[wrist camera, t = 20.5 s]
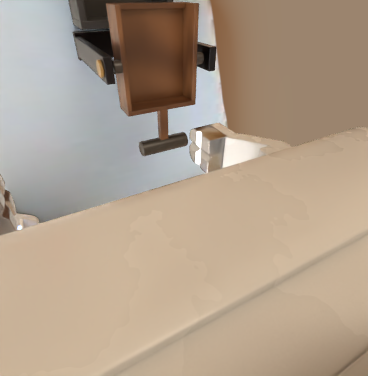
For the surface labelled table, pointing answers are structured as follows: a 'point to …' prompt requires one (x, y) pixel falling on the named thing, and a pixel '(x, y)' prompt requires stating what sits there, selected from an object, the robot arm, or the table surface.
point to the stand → (102, 52)
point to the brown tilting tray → (155, 62)
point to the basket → (96, 12)
